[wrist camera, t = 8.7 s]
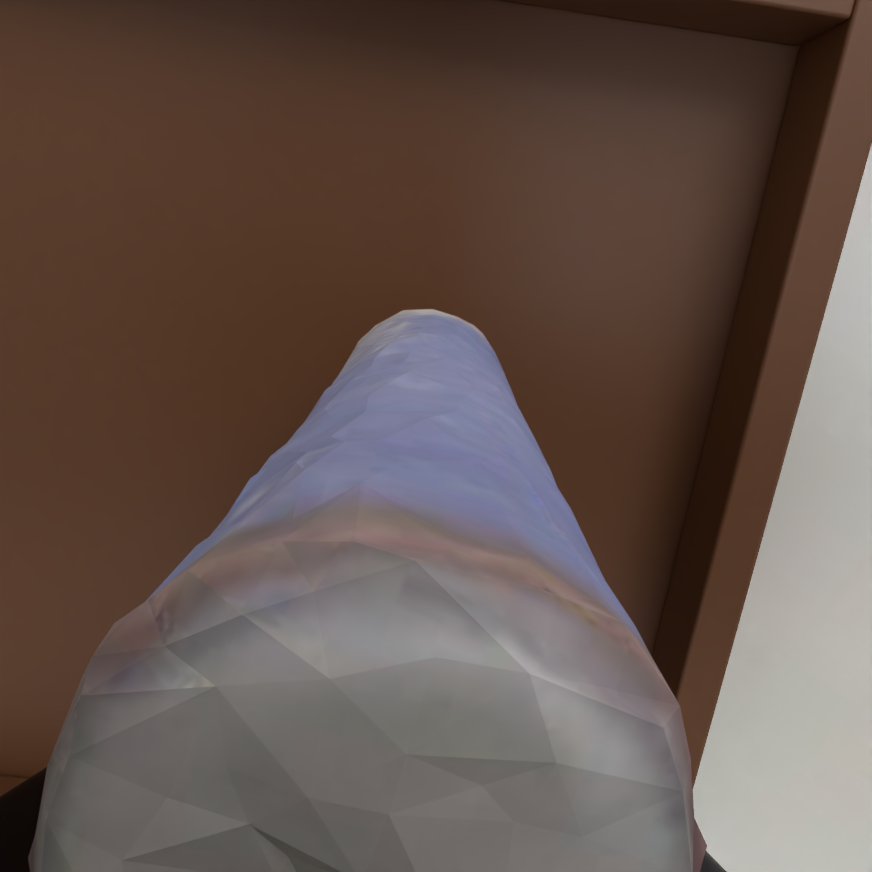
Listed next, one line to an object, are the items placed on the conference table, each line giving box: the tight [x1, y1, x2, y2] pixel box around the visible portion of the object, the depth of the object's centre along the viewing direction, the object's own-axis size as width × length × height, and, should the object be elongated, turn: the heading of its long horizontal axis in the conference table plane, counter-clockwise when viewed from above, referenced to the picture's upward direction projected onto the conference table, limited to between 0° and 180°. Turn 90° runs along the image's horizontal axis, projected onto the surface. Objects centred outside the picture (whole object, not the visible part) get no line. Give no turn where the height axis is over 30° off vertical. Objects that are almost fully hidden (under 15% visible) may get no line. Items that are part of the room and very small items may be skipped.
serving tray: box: [0, 0, 872, 796], centre depth 13 cm, size 24×18×2 cm
